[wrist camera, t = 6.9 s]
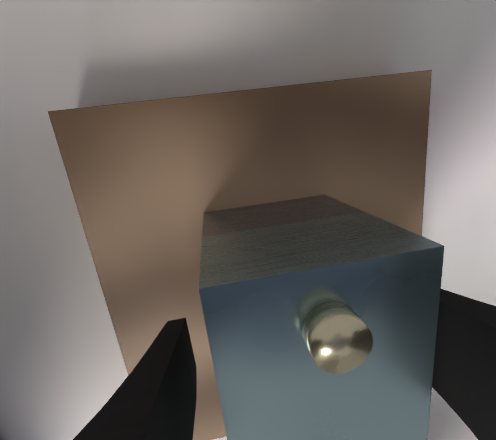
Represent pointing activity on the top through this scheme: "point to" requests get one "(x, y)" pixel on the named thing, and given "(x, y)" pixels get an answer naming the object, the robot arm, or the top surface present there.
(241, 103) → the stand
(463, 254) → the top surface
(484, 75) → the top surface
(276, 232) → the housing
